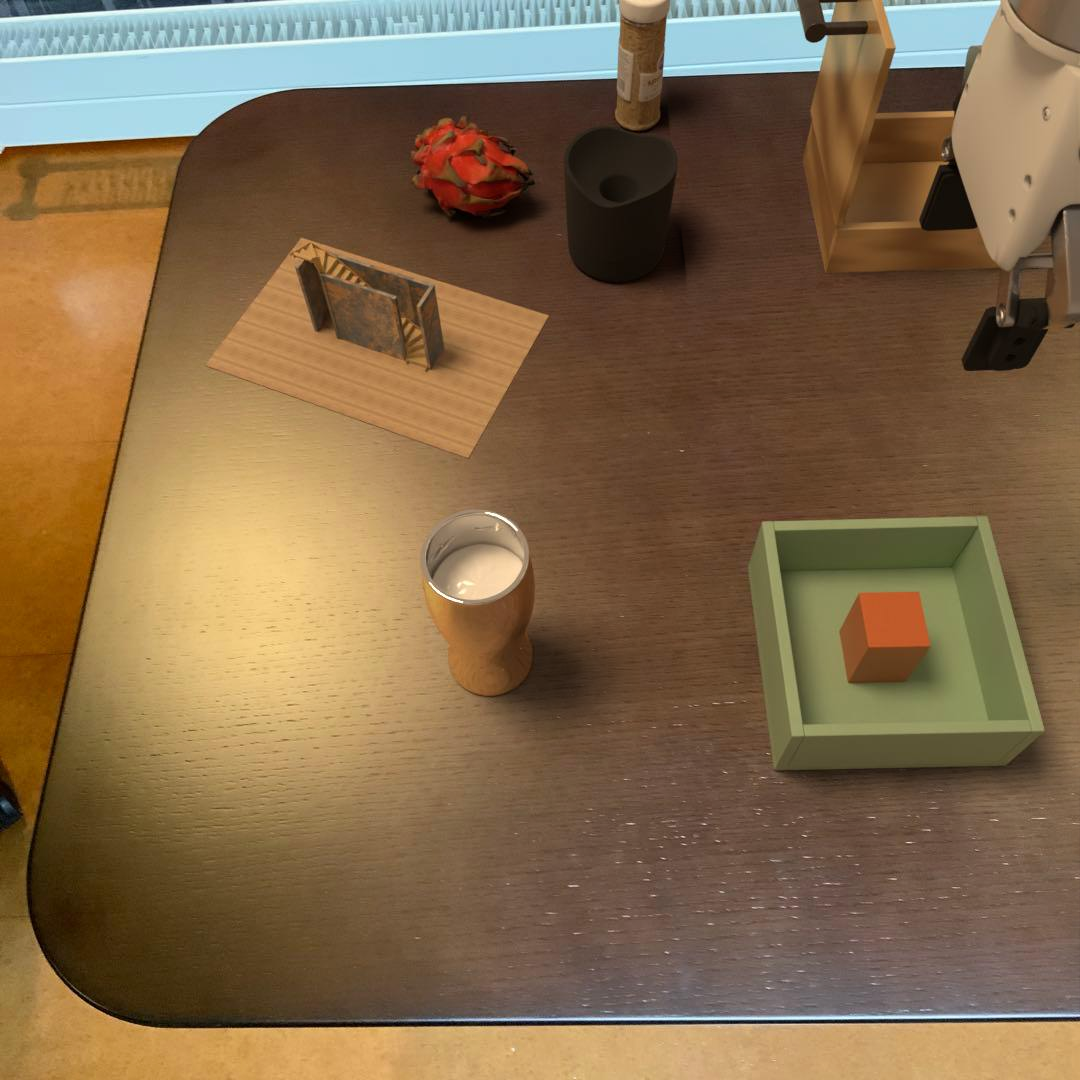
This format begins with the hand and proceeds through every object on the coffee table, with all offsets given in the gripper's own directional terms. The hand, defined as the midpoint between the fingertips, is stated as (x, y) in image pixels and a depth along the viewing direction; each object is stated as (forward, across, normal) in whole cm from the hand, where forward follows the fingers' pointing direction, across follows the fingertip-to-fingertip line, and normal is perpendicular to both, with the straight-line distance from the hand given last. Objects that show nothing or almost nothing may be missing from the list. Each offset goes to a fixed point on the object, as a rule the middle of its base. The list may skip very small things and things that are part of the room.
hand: (969, 292), depth 55 cm
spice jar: (+28, +50, +12) cm, 59 cm away
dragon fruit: (+28, +40, +28) cm, 56 cm away
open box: (+28, -9, 0) cm, 29 cm away
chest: (+28, +35, -11) cm, 46 cm away
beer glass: (+28, -7, +27) cm, 40 cm away
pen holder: (+28, +32, +15) cm, 46 cm away
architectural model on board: (+28, +23, +36) cm, 51 cm away
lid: (+14, +35, -3) cm, 38 cm away
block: (+27, -9, 0) cm, 28 cm away
